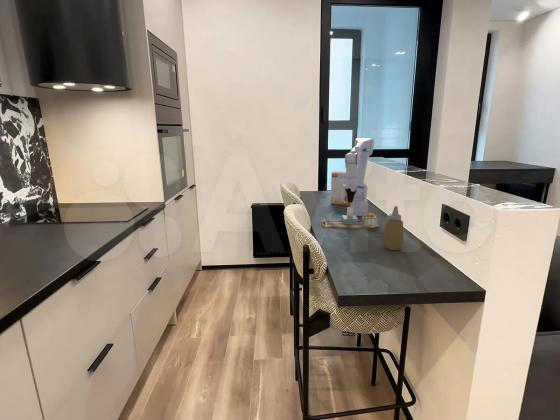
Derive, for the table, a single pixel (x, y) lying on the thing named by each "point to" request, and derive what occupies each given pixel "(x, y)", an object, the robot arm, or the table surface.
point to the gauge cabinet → (369, 220)
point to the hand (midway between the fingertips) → (350, 202)
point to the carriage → (350, 217)
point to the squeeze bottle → (394, 231)
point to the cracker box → (339, 189)
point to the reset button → (369, 214)
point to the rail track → (341, 224)
